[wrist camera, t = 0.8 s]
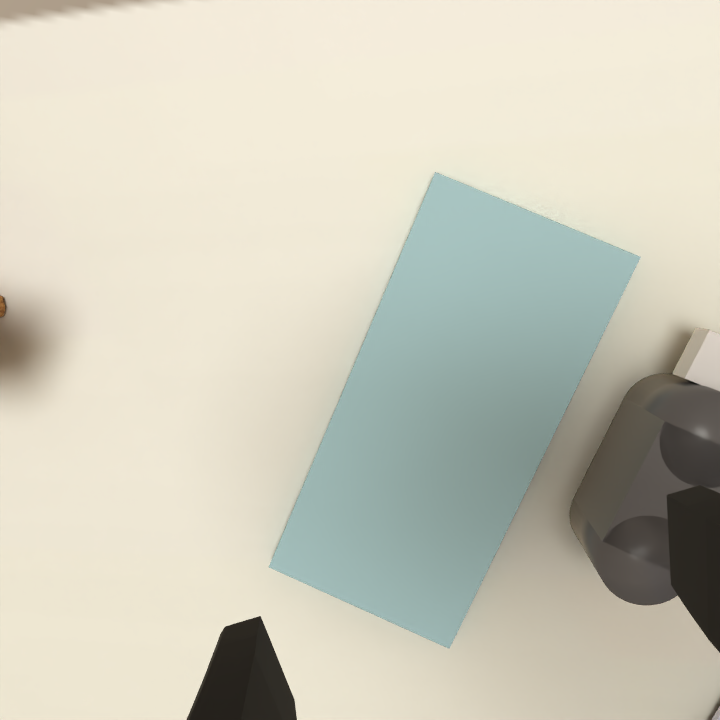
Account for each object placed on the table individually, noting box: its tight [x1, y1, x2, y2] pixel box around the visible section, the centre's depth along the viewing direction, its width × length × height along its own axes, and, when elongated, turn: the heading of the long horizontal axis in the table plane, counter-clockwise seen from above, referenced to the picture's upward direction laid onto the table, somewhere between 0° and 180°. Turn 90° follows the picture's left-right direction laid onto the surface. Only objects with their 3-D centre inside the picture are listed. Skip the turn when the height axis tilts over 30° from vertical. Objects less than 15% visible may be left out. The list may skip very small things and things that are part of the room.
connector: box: [570, 328, 720, 605], centre depth 24 cm, size 4×10×4 cm, turn 157°
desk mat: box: [269, 172, 640, 648], centre depth 27 cm, size 9×19×1 cm, turn 157°
